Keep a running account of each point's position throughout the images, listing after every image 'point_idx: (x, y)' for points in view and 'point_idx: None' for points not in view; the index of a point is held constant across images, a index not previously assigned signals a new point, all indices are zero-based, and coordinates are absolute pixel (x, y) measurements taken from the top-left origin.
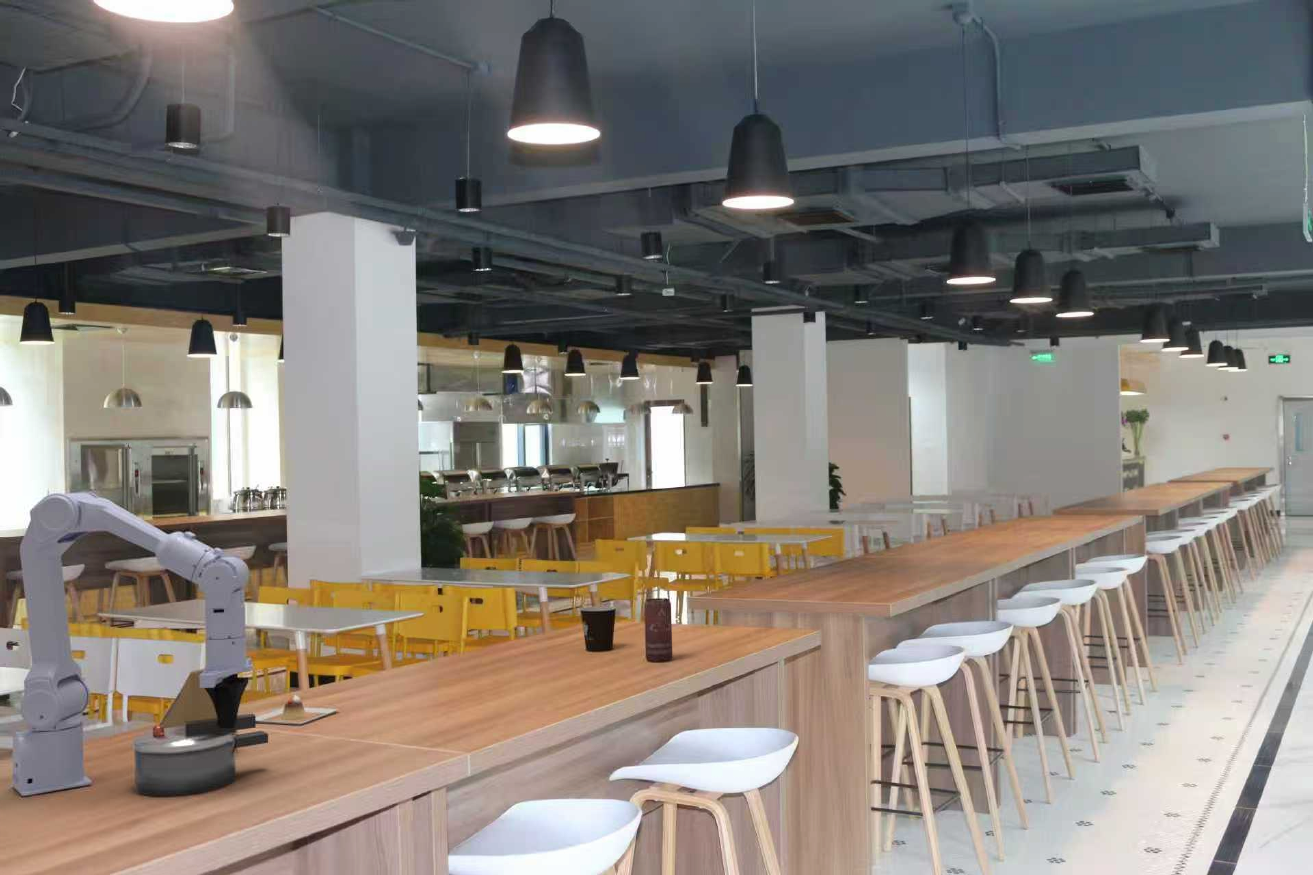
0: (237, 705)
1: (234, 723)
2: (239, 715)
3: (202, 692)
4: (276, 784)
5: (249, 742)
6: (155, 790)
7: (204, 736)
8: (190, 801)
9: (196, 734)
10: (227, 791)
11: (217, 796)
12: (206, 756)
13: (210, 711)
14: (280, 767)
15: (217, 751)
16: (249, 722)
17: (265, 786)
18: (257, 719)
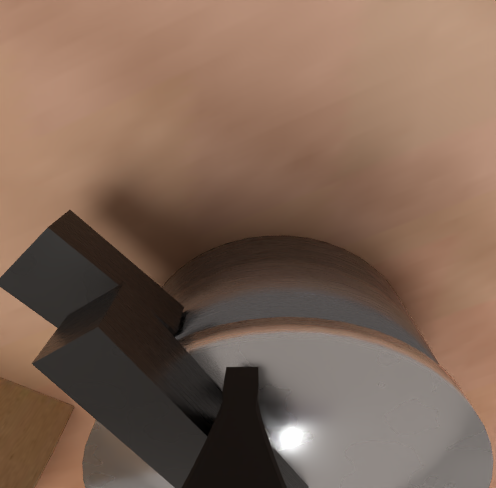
0: (237, 476)
1: (250, 378)
2: (101, 414)
3: None
4: (310, 56)
5: (135, 276)
6: None
7: (321, 430)
8: (477, 272)
9: (288, 465)
10: (382, 208)
11: (439, 215)
12: (415, 341)
13: None
14: (66, 146)
15: (380, 324)
16: (139, 327)
17: (335, 92)
18: None
